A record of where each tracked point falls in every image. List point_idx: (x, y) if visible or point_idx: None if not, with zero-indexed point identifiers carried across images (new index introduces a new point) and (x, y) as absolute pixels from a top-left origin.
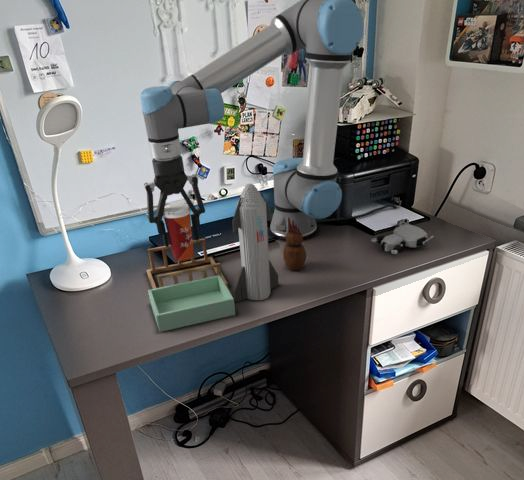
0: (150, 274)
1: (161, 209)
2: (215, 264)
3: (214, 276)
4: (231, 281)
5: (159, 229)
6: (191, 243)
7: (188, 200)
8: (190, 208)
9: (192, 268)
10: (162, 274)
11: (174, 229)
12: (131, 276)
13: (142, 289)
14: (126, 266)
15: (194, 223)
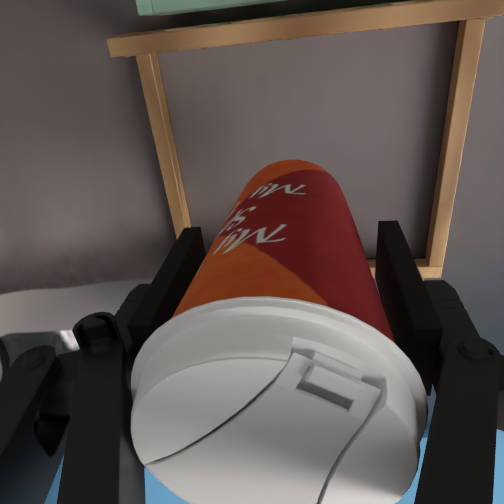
0: (437, 238)
1: (460, 470)
2: (132, 39)
3: (165, 5)
4: (124, 85)
5: (451, 308)
6: (231, 210)
7: (81, 497)
8: (119, 403)
9: (269, 34)
10: (470, 14)
11: (331, 251)
12: (500, 270)
13: (499, 153)
14: (489, 340)
15: (157, 294)
